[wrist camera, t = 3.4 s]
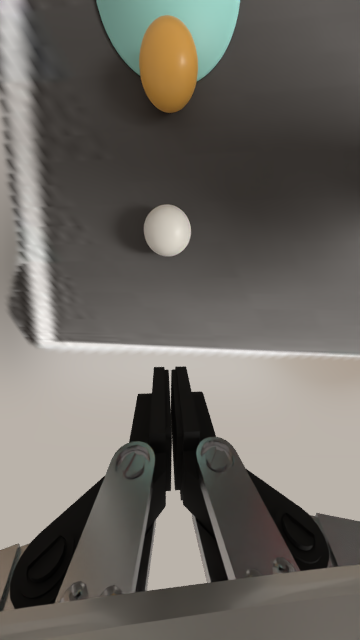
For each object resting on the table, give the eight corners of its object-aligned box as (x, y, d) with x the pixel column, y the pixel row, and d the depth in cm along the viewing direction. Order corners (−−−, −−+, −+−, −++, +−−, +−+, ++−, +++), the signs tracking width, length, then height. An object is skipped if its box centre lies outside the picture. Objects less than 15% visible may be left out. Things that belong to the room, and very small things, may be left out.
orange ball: (201, 109, 21) (214, 61, 16) (159, 136, 22) (157, 98, 16) (178, 46, 20) (183, -31, 14) (132, 77, 20) (121, 13, 15)
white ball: (195, 243, 26) (203, 240, 20) (159, 263, 26) (158, 265, 21) (175, 202, 24) (178, 186, 19) (137, 224, 24) (130, 215, 19)
